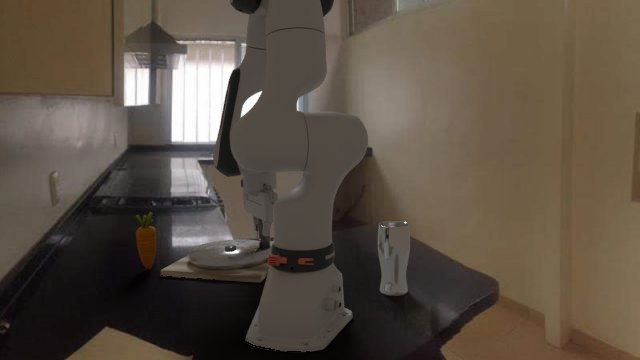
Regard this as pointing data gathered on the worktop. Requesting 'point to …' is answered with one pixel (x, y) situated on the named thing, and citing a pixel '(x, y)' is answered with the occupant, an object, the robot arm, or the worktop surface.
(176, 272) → the dial base
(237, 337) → the worktop surface
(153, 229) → the carrot
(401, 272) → the beer glass
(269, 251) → the dial
